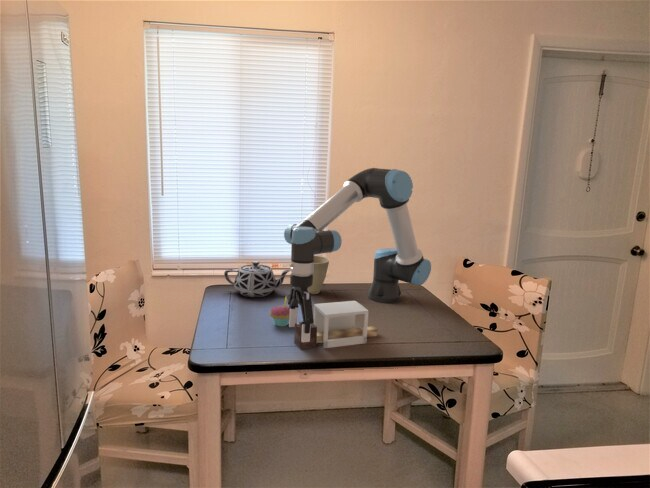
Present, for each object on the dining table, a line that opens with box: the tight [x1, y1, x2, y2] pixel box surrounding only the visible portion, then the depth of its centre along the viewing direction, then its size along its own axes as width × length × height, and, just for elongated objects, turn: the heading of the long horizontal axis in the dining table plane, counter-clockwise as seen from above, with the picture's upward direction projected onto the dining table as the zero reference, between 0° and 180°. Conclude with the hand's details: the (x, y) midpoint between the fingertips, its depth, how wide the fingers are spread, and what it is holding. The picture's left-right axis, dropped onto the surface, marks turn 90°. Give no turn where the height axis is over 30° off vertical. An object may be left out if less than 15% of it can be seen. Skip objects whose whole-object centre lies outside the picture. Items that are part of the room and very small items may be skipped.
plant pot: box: [307, 255, 330, 295], centre depth 213 cm, size 15×15×16 cm
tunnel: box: [313, 300, 369, 349], centre depth 161 cm, size 16×11×12 cm
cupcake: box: [269, 295, 291, 327], centre depth 172 cm, size 9×8×12 cm
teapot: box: [223, 260, 291, 298], centre depth 207 cm, size 19×31×15 cm, turn 88°
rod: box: [317, 325, 378, 344], centre depth 163 cm, size 25×3×3 cm, turn 112°
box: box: [293, 321, 318, 350], centre depth 155 cm, size 6×6×7 cm
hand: (299, 333), depth 155 cm, fingers open, 13 cm apart
